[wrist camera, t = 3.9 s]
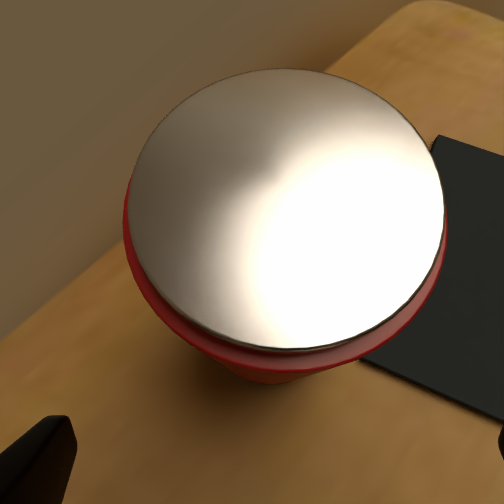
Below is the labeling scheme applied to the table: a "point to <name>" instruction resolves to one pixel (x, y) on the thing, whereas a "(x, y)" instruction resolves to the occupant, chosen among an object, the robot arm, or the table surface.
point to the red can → (285, 222)
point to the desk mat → (461, 290)
